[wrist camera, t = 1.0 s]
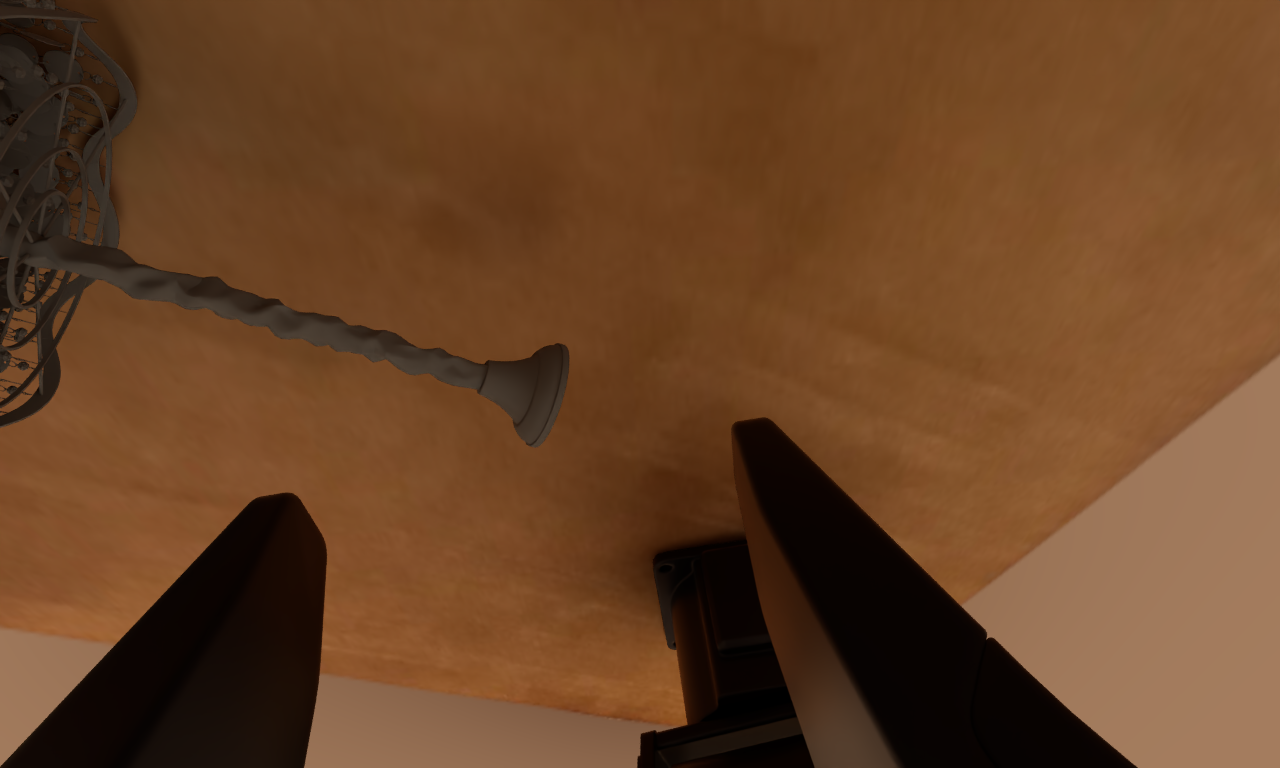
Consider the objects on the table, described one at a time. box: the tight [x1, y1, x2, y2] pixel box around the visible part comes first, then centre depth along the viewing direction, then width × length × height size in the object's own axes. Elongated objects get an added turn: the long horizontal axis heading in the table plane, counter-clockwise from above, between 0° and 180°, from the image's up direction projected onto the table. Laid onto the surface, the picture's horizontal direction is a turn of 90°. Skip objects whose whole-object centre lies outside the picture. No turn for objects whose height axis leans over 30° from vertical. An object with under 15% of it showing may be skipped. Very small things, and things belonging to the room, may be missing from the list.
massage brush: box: [0, 0, 569, 447], centre depth 15 cm, size 9×22×9 cm, turn 64°
